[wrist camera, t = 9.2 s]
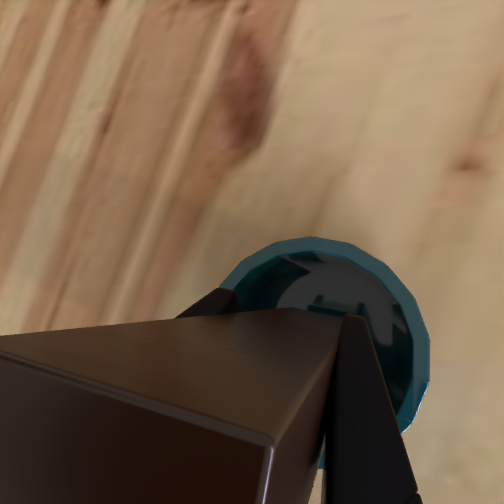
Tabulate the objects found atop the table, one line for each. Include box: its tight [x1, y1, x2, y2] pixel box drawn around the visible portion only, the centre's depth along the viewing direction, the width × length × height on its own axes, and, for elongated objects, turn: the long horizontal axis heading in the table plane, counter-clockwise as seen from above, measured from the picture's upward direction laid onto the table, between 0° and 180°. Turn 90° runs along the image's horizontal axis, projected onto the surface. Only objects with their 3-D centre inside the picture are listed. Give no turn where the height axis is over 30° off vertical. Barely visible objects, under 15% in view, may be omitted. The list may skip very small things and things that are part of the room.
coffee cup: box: [219, 236, 430, 469], centre depth 15 cm, size 7×8×5 cm
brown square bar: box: [0, 307, 343, 504], centre depth 9 cm, size 2×2×13 cm
